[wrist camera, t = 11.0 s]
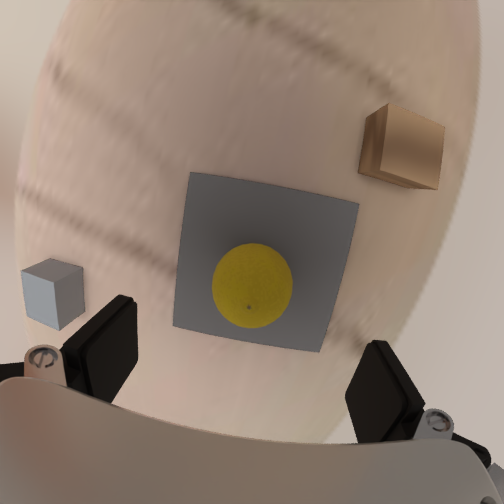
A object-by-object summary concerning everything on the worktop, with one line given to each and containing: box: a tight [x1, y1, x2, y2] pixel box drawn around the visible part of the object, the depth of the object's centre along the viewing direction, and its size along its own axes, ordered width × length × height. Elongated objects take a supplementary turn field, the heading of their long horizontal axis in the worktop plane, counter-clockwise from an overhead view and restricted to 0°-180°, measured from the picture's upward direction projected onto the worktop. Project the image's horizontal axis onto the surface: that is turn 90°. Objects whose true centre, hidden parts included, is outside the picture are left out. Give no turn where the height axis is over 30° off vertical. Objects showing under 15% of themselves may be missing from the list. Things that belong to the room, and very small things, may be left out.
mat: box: [173, 172, 359, 352], centre depth 24 cm, size 14×14×1 cm
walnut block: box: [358, 103, 445, 190], centre depth 19 cm, size 5×5×5 cm
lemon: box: [212, 243, 293, 328], centre depth 20 cm, size 6×6×8 cm
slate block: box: [21, 258, 85, 331], centre depth 23 cm, size 5×5×5 cm
